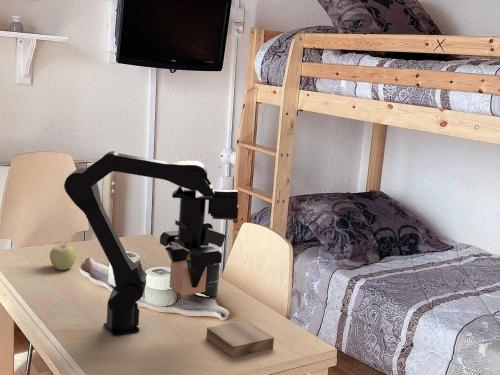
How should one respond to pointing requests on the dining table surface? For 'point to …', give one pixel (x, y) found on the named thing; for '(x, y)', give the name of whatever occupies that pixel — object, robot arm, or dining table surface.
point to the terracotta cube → (185, 279)
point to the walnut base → (239, 338)
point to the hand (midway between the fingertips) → (187, 283)
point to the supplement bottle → (212, 280)
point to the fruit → (63, 257)
